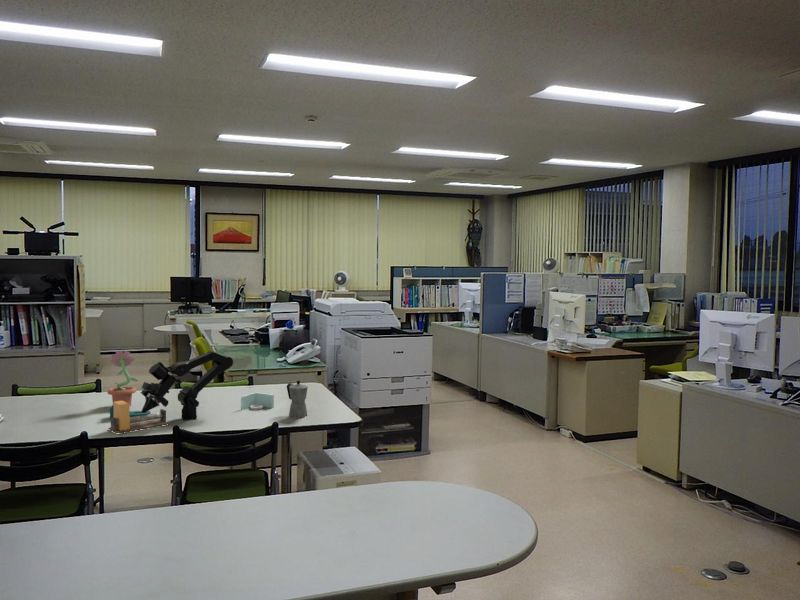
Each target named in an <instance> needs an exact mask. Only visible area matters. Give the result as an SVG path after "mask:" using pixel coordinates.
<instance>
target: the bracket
mask: <svg viewBox="0 0 800 600" xmlns="http://www.w3.org/2000/svg"><path fill="white" fill-rule="evenodd" d="M141 411H142V410H132V411H129V416H130V417H136V416H142V415H148V414H151V410H149V411H147V412H145V413H142V412H141ZM112 417H114V406H113V404H112V405H111V407H110V410H109V420H110V419H111V418H112Z"/></svg>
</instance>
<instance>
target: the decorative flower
mask: <svg viewBox="0 0 800 600" xmlns="http://www.w3.org/2000/svg"><path fill="white" fill-rule="evenodd" d="M130 355H131V352H130V351H128V350H125V351H123V350H117V351H116V352H115V354H114V353H113V354H111V357H110V359H111V360H110V363H111V364H112V365H113V366H115V367H118V368H121V370H120V371H118V372H117V375H116V376H120V375H122V374H124V375H125V377H126V381H123V382H120V383H118V382H116V383H115V382H114V384H115V385H116V386H115V387H110V388H109V389H108V390H107V394H108V395H109V396H110V395H111V398H112V399H111V400H112V403H113V402H115V401H125V402H127V403H129V407H131V406H132V400H133V394H135V393H137V388H136V387H135V386H127V385H128V384H129V383H131V382H132V381H133V382H139V380H138V379H137V378H134V377H131V376H130V374H129V372H128V370H127V366H130V365H131V363H132V362H134V360H135V357H133V356H132V357H130Z"/></svg>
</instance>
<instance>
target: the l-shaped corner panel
mask: <svg viewBox="0 0 800 600" xmlns="http://www.w3.org/2000/svg"><path fill="white" fill-rule="evenodd" d="M240 401H241V402H240V410H242V411H243V410H247V409H249V410H251V411H261V410H262V409H264V408H270V409H274V408H275V395H274V394H271V393H264V392H257V391H256V392H252V393H248V394H246V395H242V396H241V397H240Z"/></svg>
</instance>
